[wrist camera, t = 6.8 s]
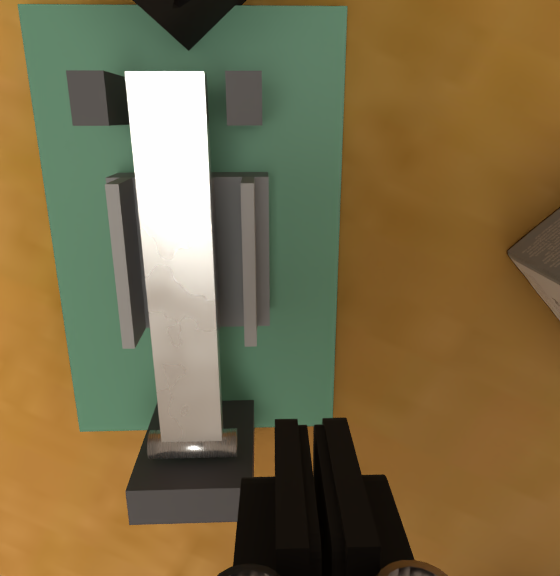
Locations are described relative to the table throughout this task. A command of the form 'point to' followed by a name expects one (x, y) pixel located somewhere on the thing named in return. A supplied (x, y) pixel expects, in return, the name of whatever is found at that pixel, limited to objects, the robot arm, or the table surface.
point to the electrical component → (187, 16)
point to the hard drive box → (541, 260)
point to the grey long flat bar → (179, 260)
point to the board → (226, 214)
